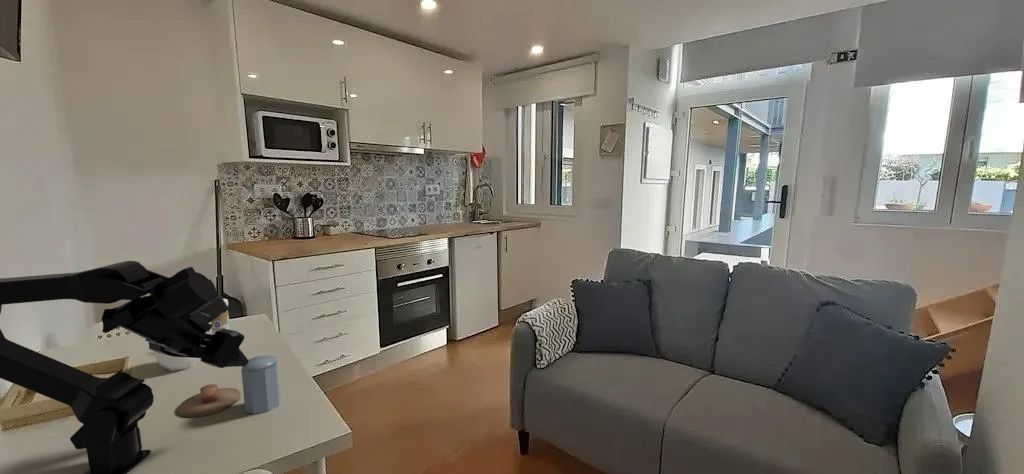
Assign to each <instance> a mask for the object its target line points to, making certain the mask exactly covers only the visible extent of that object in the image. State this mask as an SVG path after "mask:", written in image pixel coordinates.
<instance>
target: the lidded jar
mask: <svg viewBox="0 0 1024 474" xmlns="http://www.w3.org/2000/svg"><path fill="white" fill-rule="evenodd" d="M165 350H166V349H165ZM153 354H154V358H155V359H156V361H157V363H158V364H159V365H160V366H161V367H163V368H165V369H167V370H168V371H171V372H173V371H174V372H175V371H182V370H186V369H190V368H192V367H195V365H197V364H198V363H197V362H199V361H200V360H201V358H189V357H173V356H169V355H165V354H160V353H157V352H155V351H153Z"/></svg>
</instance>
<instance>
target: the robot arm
mask: <svg viewBox="0 0 1024 474" xmlns="http://www.w3.org/2000/svg"><path fill="white" fill-rule="evenodd" d="M223 299H224V298H223V297H222V295H221V294H218V292H217V288H216V286H215V284H214V282H213V281H212V280H211V279H209V278H208V277H207V276H205V275H204V274H202V273H200V272H197V271H195V269H194V267H193V266H188V267H185V268H183V269H181V270H179V271H177V272H176V273H175V274H174V275H172V276H170V277H168V276H166V275H163V274H160V273H157V272H155V271H152V270H149V269H147V268H146V267H145V266H144V265H143V264H141V262H139V261H137V260H125V261H120V262H115V263H112V264H108V265H103V266H100V267H96V268H92V269H88V270H87V269H86V270H83V271H79V272H66V273H65V272H64V273H54V274H53V273H51V274H39V275H26V276H25V275H24V276H16V277H15V276H14V277H4V278H3V277H1V278H0V315H1V313H2V308H3V305H14V304H22V303H23V304H25V303H35V302H44V301H45V302H46V301H47V302H48V301H58V300H74V301H78V302H81V303H84V304H85V303H88V304H102V305H103V304H105V305H107V304H114V303H117V302H119V301H122V300H123V301H127V302H125V303H123V304H121V305H119V306H117V307H113V308H106V309H105V308H104V309H103V312H102V316H101V322H102V330H101V332H102V333H104V334H108V333H109V332H112V331H114V330H115V329H118V328H122V329H124V330H127V331H128V332H131V333H133V334H135V335H137V336H140V337H141V338H143V339H145V342H148V348H149V350H151V351H153V352H154V351H155V352H157V353H160V354H165V355H169V356H173V357H189V358H200V362H202V363H203V364H206V365H207V366H208V365H209V366H211V367H215V368H220V369H224V368H232V367H237V368H238V367H242V366H246V365H247V364H248V362H249V360H248V358H247V356H246V355H245V354H244V353H243V351H242V350H241V349H240V347H241V345H242V344H243V341H244V340H245V335H244V334H242V333H240V332H238V331H237V330H234V329H230V330H228V329H221V330H218V331H216V333H215V334H214V335H212V333H211V334H210V333H208V332H210V330H212V326H213V325H211V322H212V321H213V320H214V319H216V318H217V317H218V316H219V315H221V314H222V313H225V312H226V311H227V310H228V311H229V305H228V306H227V305H226V303H225V302H224V300H223ZM165 349H166V350H165ZM0 379H2V380H3V381H6V382H9V383H11V384H14V385H17V386H19V387H22V388H24V389H26V390H30V391H31V392H33V393H37V394H40V395H42V396H44V397H47V398H49V399H52V400H54V401H56V402H59V403H61V404H64V405H67V406H69V407H70V408H71V410H72V411H73V413H74V416H75V417H76V419H77V421H78V422H79V423H81V424H82V425H81V427H80V428H78V430H76V431H75V432H74V433H73V435H71V437H69V441H70V442H71V444H72V445H73V447H74V448H75V450H83V449H85V450H86V454H87V455H86V456H87V462H88V467H89V469H87V470H86V471H85V472H84V473H83V474H127V473H129V472H130V471H131V470H132V469H134V468H135V467H136V466H137V465H139V463H141V462H143V460H144V459H146V458H147V457H148V456H149V455H150V454H151V451H152V450H151V449H143V444H142V436H141V429H140V427H139V423H138V422H139V421H141V420H142V419H144V418H145V417H146V414H147V411H148V410H149V409H150V408H151V407H152V406H153V403H154V401H155V400H154V393H153V389H152V388H151V386H149V385H148V384H147V383H144V382H145V381H146V380H145V379H143V378H142V379H141V378H136V377H134V376H132V375H131V374H129V373H128V372H124V371H121V370H120V371H117V372H116V373H114V374H112V375H110V376H108V377H98V376H95V375H93V374H90V373H88V372H86V371H83V370H80V369H78V368H76V367H73V366H72V365H69V364H66V363H64V362H63V361H59V360H57V359H55V358H52V357H49V356H47V355H45V354H43V353H40V352H38V351H35V350H34V349H31V348H28V347H25V346H24V345H21V344H18V343H17V342H14V341H11V340H9V339H8V338H6V337H5V335H4V333H3V330H2V329H1V328H0Z"/></svg>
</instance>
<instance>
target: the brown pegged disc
mask: <svg viewBox="0 0 1024 474" xmlns="http://www.w3.org/2000/svg"><path fill="white" fill-rule="evenodd" d="M199 391H200V393H196V394H193V395H191V396H190V397H188V398H186V399H185V400H183V401H182V402H181V403H180V404H179V405H178V408H177V410H178V411H177V413H178V412H179V413H178V415H179V416H181V415H182V416H181V417H184V416H186V418H199V417H198V416H200V417H206V416H209V415H213V413H214V414H217V413H219V412H222V411H224V410H227V409H228V408H230V407H232V406H233V405H235V404H236V403H237V402H239V400H240V399H241V392H240V390H239V389H237V388H234V387H220V388H219V387H218V385H217V383H216V384H215V383H211V384H207V385H204V386H202V387H200V390H199ZM203 415H204V416H203ZM205 415H206V416H205Z"/></svg>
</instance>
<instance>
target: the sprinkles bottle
mask: <svg viewBox="0 0 1024 474" xmlns="http://www.w3.org/2000/svg"><path fill="white" fill-rule="evenodd" d="M222 299H223V300H224V302H225V303H226V305H227V306H228V307H229V300H228V299H227V298H222ZM210 324H211V325H213V326H212V328H211V335H214V334H215V333H216V331H218V330H221V329H228V330H231V326H230V315H229V309H228V310H227V311H226V312H225V313H222V314H221V315H219V316H218V317H217V318H216V319H214V320H213V321H212V322H210Z"/></svg>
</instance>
